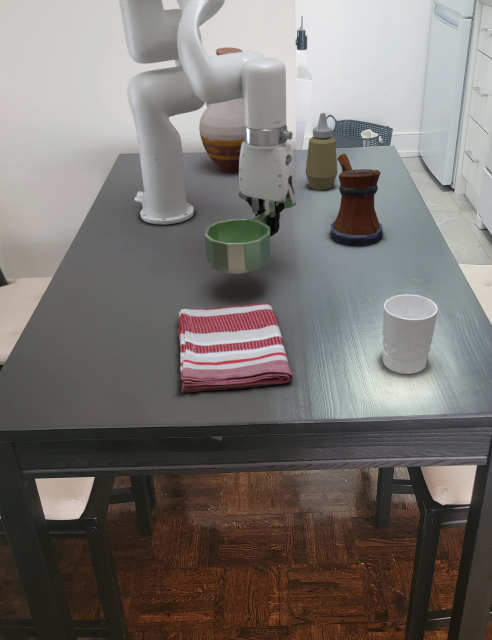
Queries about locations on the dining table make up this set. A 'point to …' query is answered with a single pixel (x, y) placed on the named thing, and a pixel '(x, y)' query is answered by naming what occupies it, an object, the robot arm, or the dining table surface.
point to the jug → (223, 129)
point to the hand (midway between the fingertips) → (267, 232)
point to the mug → (356, 206)
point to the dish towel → (231, 348)
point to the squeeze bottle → (321, 157)
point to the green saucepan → (239, 244)
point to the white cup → (408, 332)
